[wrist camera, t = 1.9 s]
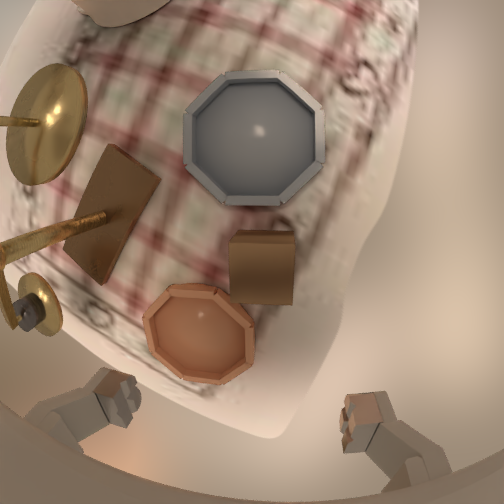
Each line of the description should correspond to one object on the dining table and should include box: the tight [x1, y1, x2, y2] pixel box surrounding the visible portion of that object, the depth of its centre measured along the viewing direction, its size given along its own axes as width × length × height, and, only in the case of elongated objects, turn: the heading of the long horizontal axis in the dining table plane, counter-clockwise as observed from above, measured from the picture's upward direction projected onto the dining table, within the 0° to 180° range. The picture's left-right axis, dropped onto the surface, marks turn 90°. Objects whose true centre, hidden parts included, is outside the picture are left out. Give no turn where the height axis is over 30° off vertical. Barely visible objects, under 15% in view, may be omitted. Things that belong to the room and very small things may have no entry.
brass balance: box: [0, 63, 161, 336], centre depth 17 cm, size 26×7×19 cm, turn 143°
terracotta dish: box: [142, 283, 255, 385], centre depth 28 cm, size 12×12×2 cm
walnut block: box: [228, 230, 295, 305], centre depth 24 cm, size 5×5×5 cm
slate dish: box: [183, 70, 325, 206], centre depth 22 cm, size 12×12×2 cm
